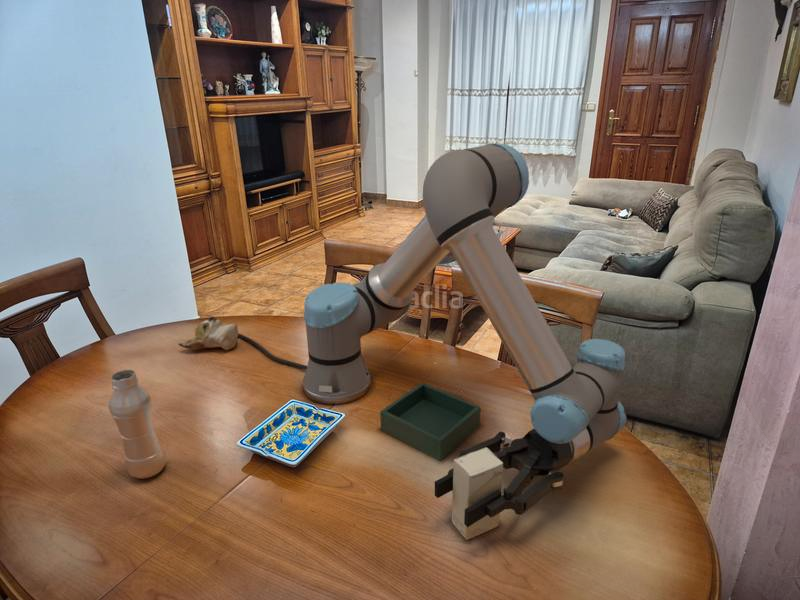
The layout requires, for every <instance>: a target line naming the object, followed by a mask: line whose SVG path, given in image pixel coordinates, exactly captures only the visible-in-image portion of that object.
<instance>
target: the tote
mask: <svg viewBox="0 0 800 600" xmlns="http://www.w3.org/2000/svg"><path fill="white" fill-rule="evenodd" d="M481 411H482V406H480V405H477V404H475V403H473V402H470V401H467V400H466V399H463V398H460V397H458V396H456V395H454V394H451V393H449V392H446V391H443V390H442V389H439V388H437V387H434V386H432V385H430V384H428V383H425V382H421V383H419V384H418V385H417V386H415V387H414V388H411V390H409V391H408V392H406V393H405V394H403V395H402V396H400V397H399V398H397V399H396V400H394V401H393V402H392V403H390V404H389V405H387V406H385V407H384V408H382V410H380V411H379V412H380V413H379V414H380V430H381V432H383V433H386V434H388V435H390V436H392V437H394V438H396V439H397V440H399V441H401V442H403V443H405V444H407V445H409V446H411V447H413V448H414V449H416V450H418V451H420V452H422V453H424V454H426V455H428V456H429V457H431V458H433V459H435V460H437V461H440V462H441V461H442V460H443V459H445V458H446V457H447V456H448V455H449V454H450V453H451V452H452V451H453V450H454V449H455V448H456V447H457V446H459V445H460V444H461V443H462V442H463V441H465V440H466V438H468V437H469V436H470V435H472V434H473V432H474V431H476V430H477V429H479V427H480V426H481Z"/></svg>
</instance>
